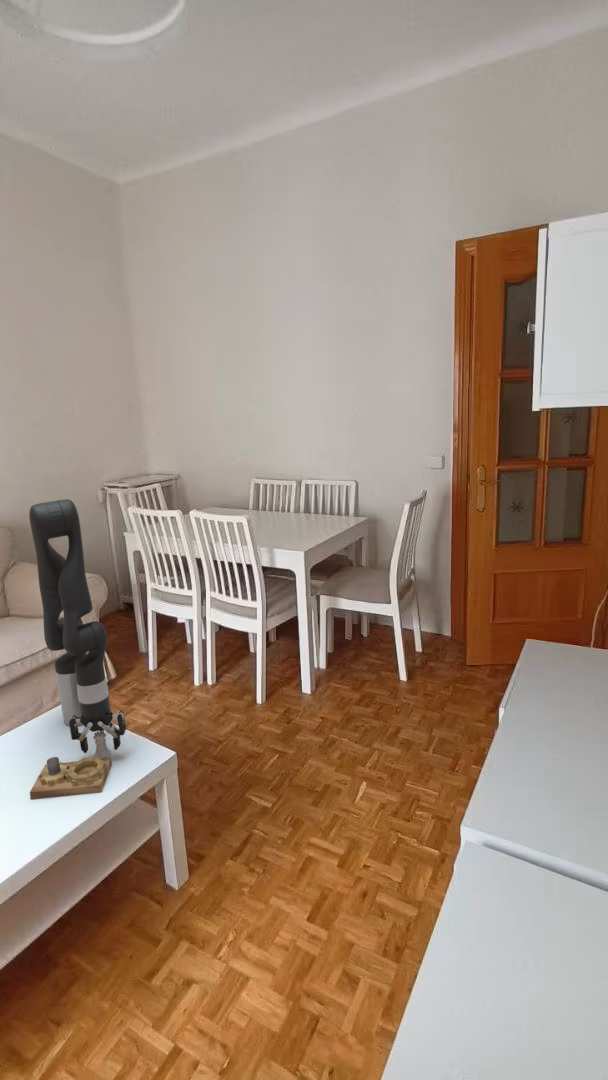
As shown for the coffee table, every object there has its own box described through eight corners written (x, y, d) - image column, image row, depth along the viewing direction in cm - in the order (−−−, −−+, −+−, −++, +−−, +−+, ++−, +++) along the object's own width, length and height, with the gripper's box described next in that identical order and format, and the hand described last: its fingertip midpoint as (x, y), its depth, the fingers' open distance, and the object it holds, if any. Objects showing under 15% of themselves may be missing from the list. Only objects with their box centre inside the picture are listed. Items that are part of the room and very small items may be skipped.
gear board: (46, 770, 147) (42, 747, 145) (112, 764, 148) (109, 741, 147) (30, 799, 136) (26, 774, 134) (101, 792, 138) (98, 767, 136)
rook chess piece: (106, 764, 148) (102, 738, 146) (91, 763, 149) (87, 737, 147) (114, 754, 153) (111, 728, 151) (100, 753, 153) (96, 727, 152)
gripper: (124, 686, 150) (131, 739, 154) (70, 690, 149) (78, 744, 153) (117, 700, 143) (125, 755, 147) (61, 705, 142) (70, 760, 146)
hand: (101, 749), depth 150 cm, fingers open, 7 cm apart
